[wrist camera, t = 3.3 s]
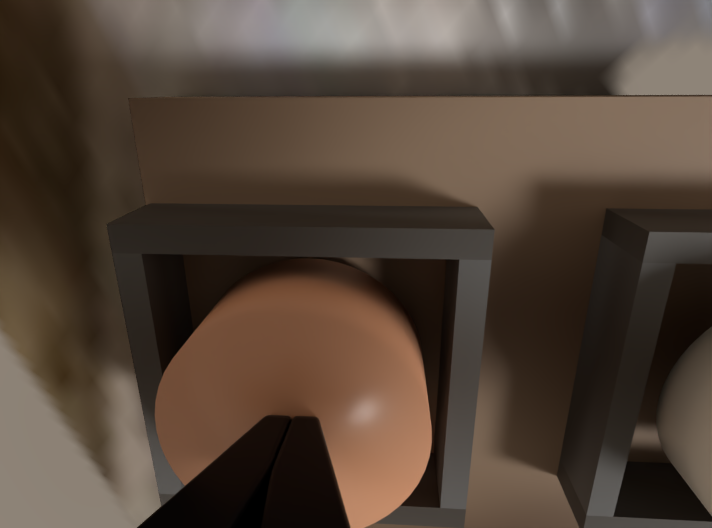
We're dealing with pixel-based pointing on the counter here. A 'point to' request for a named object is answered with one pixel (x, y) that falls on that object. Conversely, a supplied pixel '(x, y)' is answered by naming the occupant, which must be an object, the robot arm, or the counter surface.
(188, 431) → the terracotta button
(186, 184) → the button board
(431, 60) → the counter surface
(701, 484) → the cream button
